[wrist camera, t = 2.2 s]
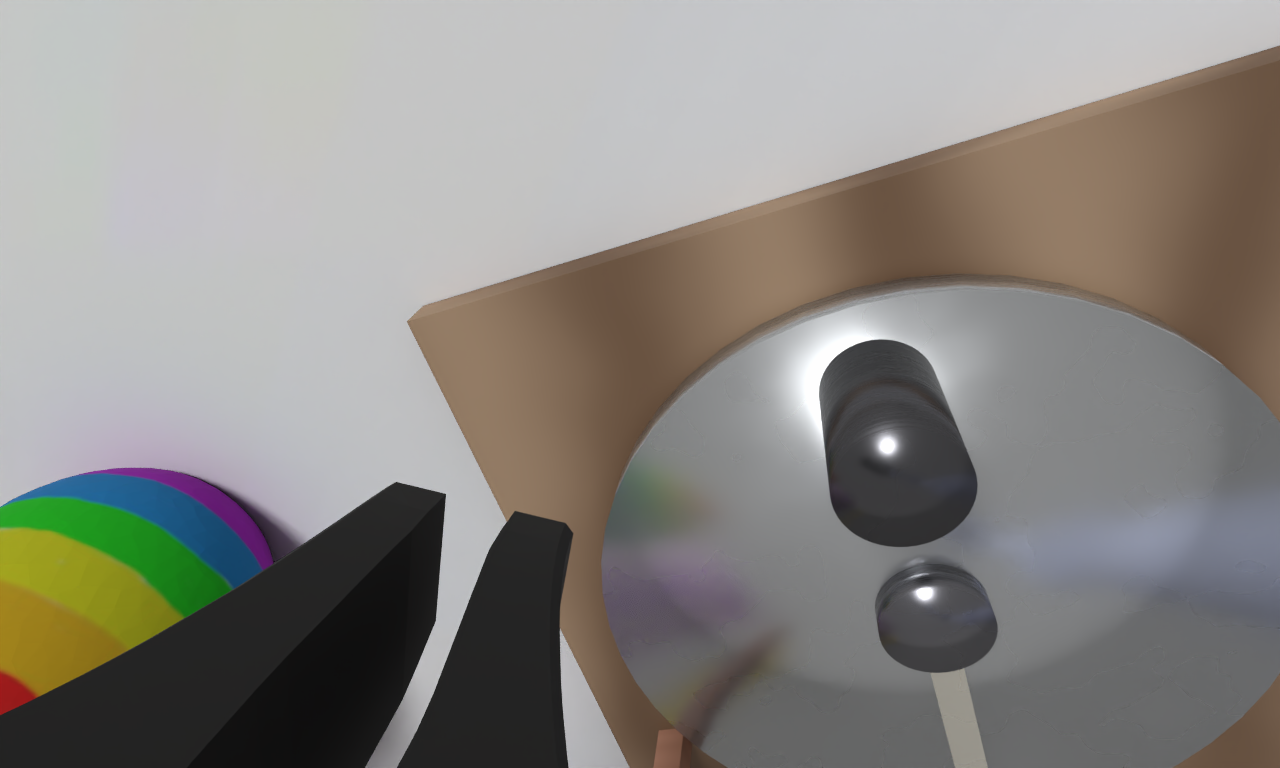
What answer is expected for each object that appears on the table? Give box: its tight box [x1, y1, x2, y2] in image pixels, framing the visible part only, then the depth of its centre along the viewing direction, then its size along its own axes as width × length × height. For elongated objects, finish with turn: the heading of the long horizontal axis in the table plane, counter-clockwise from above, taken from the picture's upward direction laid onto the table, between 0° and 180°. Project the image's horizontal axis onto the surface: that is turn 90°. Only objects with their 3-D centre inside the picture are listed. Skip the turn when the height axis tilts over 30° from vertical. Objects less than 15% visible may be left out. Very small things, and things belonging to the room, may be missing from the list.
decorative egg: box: [0, 468, 273, 715], centre depth 20 cm, size 8×8×10 cm
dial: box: [601, 273, 1280, 768], centre depth 18 cm, size 16×16×5 cm
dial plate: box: [407, 46, 1280, 768], centre depth 19 cm, size 20×20×4 cm
